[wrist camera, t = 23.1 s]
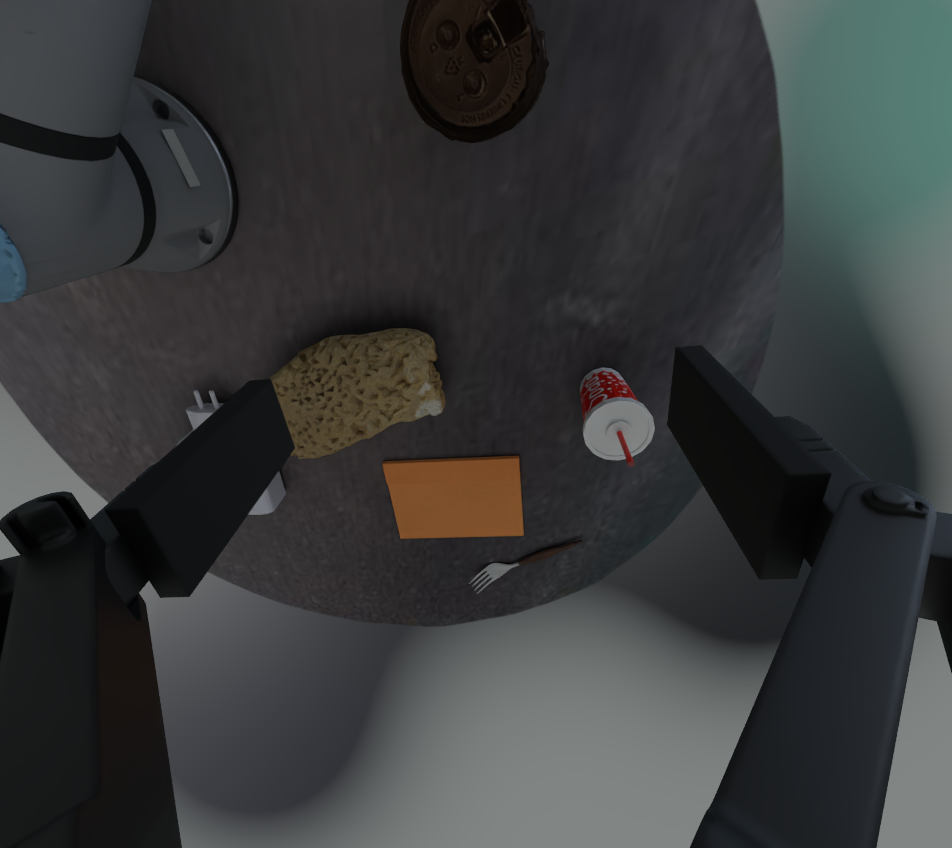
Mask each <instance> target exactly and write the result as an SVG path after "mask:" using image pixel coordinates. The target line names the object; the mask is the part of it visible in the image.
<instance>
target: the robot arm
mask: <svg viewBox="0 0 952 848" xmlns="http://www.w3.org/2000/svg"><path fill="white" fill-rule="evenodd" d="M151 2H152V0H0V303H2V302H12V301H14V300H17V299H19V298H20V297H23V296H26V295H30V294H33V293H36V292H39V291H43V290H46V289H49V288H52V287H56V286H59V285H62V284H66V283H69V282H72V281H75V280H79V279H82V278H85V277H88V276H92V275H95V274H98V273H101V272H105V271H108V270H111V269H114V268H118V267H125V268H132V269H138V270H145V271H151V272H159V273H173V272H182V271H187V270H191V269H194V268H197V267H200V266H202V265H205V264H207V263H209V262H211V261H212V260H214V259H215V258H216V257H218V256H219V255H220V254H221V253H222V252H223V250H224V249H225V248H226V246H227V245H228V243H229V242H230V240H231V238H232V235H233V233H234V230H235V226H236V222H237V215H238V195H237V188H236V182H235V178H234V175H233V171H232V168H231V166H230V163H229V160H228V158H227V156H226V154H225V152H224V150H223V148H222V146H221V144H220V142H219V141H218V139H217V137H216V136H215V134H214V133H213V131H212V130H211V129H210V127H209V126H208V125H207V123H206V122H205V121H204V120H203V119H202V117H201V116H200V115H199V114H198V113H197V112H196V111H195V110H194V109H193V108H192V107H191V106H189V105H188V104H187V103H186V102H185V101H184V100H182V99H181V98H180V97H178V96H177V95H176V94H174V93H172V92H171V91H169V90H168V89H166V88H164V87H162V86H160V85H158V84H156V83H153V82H151V81H148V80H145V79H142V78H138V77H134V74H135V69H136V65H137V61H138V57H139V53H140V48H141V44H142V40H143V36H144V32H145V27H146V23H147V19H148V15H149V11H150V6H151ZM667 425H668V427H669V429H670V430H671V432H672V434H673V435H674V437H675V439H676V440H677V442H678V444H679V445H680V447H681V449H682V450H683V452H684V454H685V456H686V457H687V459H688V461H689V462H690V464H691V466H692V467H693V469H694V471H695V472H696V474H697V476H698V477H699V479H700V481H701V482H702V484H703V486H704V487H705V489H706V491H707V492H708V494H709V496H710V497H711V499H712V501H713V503H714V504H715V506H716V508H717V509H718V511H719V513H720V514H721V516H722V518H723V519H724V521H725V523H726V525H727V526H728V528H729V530H730V531H731V533H732V534H733V536H734V538H735V540H736V541H737V543H738V545H739V546H740V548H741V550H742V551H743V553H744V555H745V556H746V558H747V560H748V561H749V563H750V565H751V566H752V568H753V570H754V571H755V573H756V575H757V577H758V578H759V579H794V578H797V577H798V574H799V571H800V568H801V565H802V562H803V559H804V558H805V559H806V561H807V562H808V563H809V565H810V566H811V567H812V569H811V571H810V574H809V576H808V578H807V581H806V583H805V585H804V588H803V590H802V592H801V595H800V597H799V600H798V602H797V604H796V607H795V609H794V611H793V614H792V616H791V618H790V621H789V623H788V626H787V628H786V630H785V633H784V635H783V637H782V640H781V642H780V644H779V647H778V649H777V651H776V654H775V656H774V658H773V661H772V663H771V665H770V668H769V670H768V673H767V675H766V677H765V680H764V682H763V685H762V687H761V689H760V692H759V694H758V696H757V698H756V701H755V704H754V706H753V708H752V710H751V713H750V715H749V717H748V720H747V722H746V724H745V727H744V729H743V732H742V734H741V736H740V738H739V741H738V743H737V746H736V748H735V750H734V753H733V755H732V758H731V760H730V762H729V764H728V767H727V769H726V772H725V774H724V776H723V779H722V781H721V783H720V786H719V788H718V790H717V793H716V795H715V797H714V799H713V802H712V804H711V806H710V807H709V809H708V810H707V811H706V813H705V815H704V817H703V819H702V821H701V823H700V826H699V828H698V830H697V832H696V835H695V837H694V839H693V842H692V844H691V846H690V848H876V847H877V841H878V836H879V830H880V825H881V819H882V813H883V808H884V803H885V797H886V792H887V786H888V781H889V775H890V770H891V764H892V759H893V753H894V748H895V742H896V737H897V732H898V726H899V721H900V715H901V710H902V704H903V699H904V693H905V688H906V683H907V677H908V672H909V666H910V661H911V655H912V650H913V644H914V638H915V633H916V628H917V622H918V617H919V618H924V619H928V620H934V621H937V623H938V627H939V630H940V634H941V637H942V641H943V644H944V648H945V651H946V654H947V658H948V662H949V665H950V669H951V672H952V514H948V513H941V512H935V508H934V507H933V506H932V505H931V504H930V503H929V502H928V501H927V500H926V499H925V498H923V497H921V496H920V495H918V494H916V493H914V492H913V491H911V490H908V489H906V488H903V487H900V486H897V485H894V484H889V483H884V482H879V481H870V480H869V479H868V478H867V477H866V476H865V475H864V474H862V473H861V472H860V471H859V470H858V469H857V468H856V467H855V466H854V465H853V464H851V463H850V462H849V461H848V460H847V459H846V458H845V457H844V456H842V455H841V454H840V453H839V452H838V451H835V450H834V447H833V446H831V445H830V444H829V443H828V442H827V441H826V440H824V441H823V437H821V436H820V435H819V434H818V433H817V432H816V431H815V430H814V429H813V428H811V427H810V426H809V425H807V424H805V423H802V422H800V421H798V420H796V419H794V418H792V417H790V416H784V417H774V416H773V415H772V414H771V413H770V412H769V411H768V410H767V409H766V408H765V407H764V406H762V405H761V403H759V401H758V400H757V399H756V398H755V397H754V396H752V395H751V394H750V393H749V392H748V391H747V390H746V389H745V388H744V387H743V386H742V385H741V384H740V383H739V382H738V381H737V380H736V379H735V378H734V377H733V376H732V375H731V374H730V373H729V372H728V371H727V370H726V369H725V368H724V367H723V366H722V365H721V364H720V363H719V362H718V361H717V360H716V359H715V358H714V357H713V356H712V355H711V354H710V353H709V352H708V351H707V350H706V349H705V348H704V347H703V346H702V345H700V346H687V347H676V349H675V358H674V367H673V376H672V385H671V394H670V403H669V412H668V421H667ZM294 449H295V446H294V443H293V440H292V437H291V434H290V431H289V429H288V426H287V423H286V420H285V417H284V414H283V411H282V409H281V406H280V403H279V400H278V397H277V394H276V392H275V389H274V386H273V383H272V380H271V379H265V380H253V381H249V382H248V383H246V384H245V385H244V386H243V387H242V388H241V389H240V390H239V391H237V392H236V393H235V394H234V395H233V396H232V397H231V398H230V399H229V400H227V401H226V402H225V403H224V404H223V405H222V406H221V407H220V408H218V409H217V410H216V411H215V412H214V413H213V414H212V415H211V416H209V417H208V418H207V419H206V420H205V421H204V422H203V423H202V424H200V425H199V426H198V427H197V428H196V429H195V430H194V431H193V432H192V433H190V434H189V435H188V436H187V437H186V438H185V439H184V440H183V441H181V442H180V443H179V444H178V445H177V446H176V447H175V448H174V449H172V450H171V451H170V452H169V453H168V454H167V455H166V456H165V457H163V458H162V459H161V460H160V461H159V462H158V463H156V464H154V465H152V466H151V467H149V468H148V469H147V470H146V471H145V472H143V473H142V474H141V475H140V476H139V477H138V478H137V479H136V481H133V482H132V483H131V484H130V485H129V486H128V487H127V488H125V491H122V492H121V493H120V494H119V495H117V496H116V497H115V498H114V499H113V500H112V501H111V502H110V503H108V504H107V505H106V506H105V507H104V508H103V509H102V510H101V511H99V512H98V513H97V514H96V515H95V516H94V517H93V518H91V519H89V518H88V516H87V515H86V514H85V512H84V510H83V509H82V507H81V506H80V504H79V503H78V502H77V500H76V498H75V497H74V496H73V494H72V493H69V492H56V493H51V494H47V495H44V496H41V497H38V498H35V499H33V500H31V501H28V502H26V503H24V504H22V505H20V506H19V507H17V508H15V509H14V510H12V511H11V512H9V513H8V514H7V515H6V516H5V517H3V518H2V519H1V520H0V530H1V531H2V533H4V535H5V536H6V538H7V539H8V540H9V541H10V543H11V544H12V545H13V546H14V547H15V549H16V550H17V551H18V552H19V554H20V555H19V556H15V557H11V558H7V559H3V560H0V848H182V846H181V839H180V832H179V825H178V819H177V812H176V805H175V799H174V791H173V785H172V778H171V772H170V764H169V758H168V751H167V744H166V738H165V731H164V724H163V717H162V710H161V703H160V697H159V690H158V683H157V676H156V670H155V663H154V657H153V650H152V643H151V636H150V629H149V622H148V617H147V616H148V615H147V609H146V604H145V602H144V600H143V598H142V597H141V596H140V594H139V592H140V591H141V589H142V588H143V587H144V586H145V585H146V583H147V582H148V581H150V582H151V584H152V586H153V587H154V589H155V590H156V592H157V593H158V595H159V596H160V598H163V597H190V595H191V594H192V592H193V591H194V589H195V588H196V587H197V585H198V584H199V582H200V581H201V580H202V578H203V577H204V576H205V574H206V573H207V571H208V570H209V569H210V567H211V566H212V564H213V563H214V562H215V560H216V559H217V557H218V556H219V555H220V553H221V552H222V550H223V549H224V547H225V546H226V545H227V543H228V542H229V540H230V539H231V538H232V536H233V535H234V533H235V532H236V531H237V529H238V528H239V526H240V525H241V524H242V522H243V521H244V519H245V518H246V517H247V515H248V514H249V512H250V511H251V510H252V508H253V507H254V505H255V504H256V502H257V501H258V500H259V498H260V497H261V495H262V494H263V493H264V491H265V490H266V488H267V487H268V486H269V484H270V483H271V481H272V480H273V479H274V477H275V476H276V474H277V473H278V472H279V470H280V469H281V467H282V466H283V465H284V463H285V462H286V460H287V459H288V457H289V456H290V455H291V453H292V452H293V450H294Z"/></svg>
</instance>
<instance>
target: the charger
mask: <svg viewBox="0 0 952 848" xmlns="http://www.w3.org/2000/svg"><path fill="white" fill-rule="evenodd" d="M209 394H210V397H211V400H212V402H213V403H205V404H203V402H202V399H201V396H200V394H199V391H198V390H195V391H194V395H195V398H196V400H197V403H198V405H194V406H190V407H187V408H185V409H186V412H187V414H188V417H189V419H190V422H191V425H192V427H193V430H191V431H190V432H189V433H188V434H187V435H186V436H184V437H183V438H182V439H181V440H180V441H179V442H178V444H179V443H180V442H181V441H183V440H184V439H185V438H186V437H187V436H188V435H189V434H190V433H192V432H193V431H194V430H195V429H196V428H197V427H198V426H199V425H200V424H202V423H203V422H204V421H205V420H206V419H207V418H208V417H209V416H211V415H212V414H213V413H214V412H215V411H216V410H217V409H218V408H220V407H221V406H222V405H223V404H224V403H218V401H217V398H216V396H215V393H214V391H213V390H210V391H209ZM178 444H177V445H178ZM177 445H176V446H177ZM176 446H175V447H176ZM285 494H286V492H285V489H284V485H283V482H282V479H281V475H280V472H278V473H277V474H276V476H275V477H274V479H273V480H272V481H271V483H270V484H269V486H268V487H267V488H266V490H265V491H264V493H263V494H262V495H261V497H260V498H259V500H258V501H257V502H256V504H255V505H254V507H253V508H252V510H251V511H250V512H249V514H248V515H262V514H268V513H271V512H273V511H274V510H275V509H276V508H277V506H278V505H279V503H280V502H281V500H282V499H283V497H284V496H285Z"/></svg>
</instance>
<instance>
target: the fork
mask: <svg viewBox="0 0 952 848" xmlns="http://www.w3.org/2000/svg"><path fill="white" fill-rule="evenodd" d="M581 542H583V540H579V541H575V542H571V543H568V544H564V545H561V546H557V547H554V548H550V549H546V550H543V551H540V552H537V553H535V554H533V555H531V556H529V557H527V558H525V559H523V560H521V561H519V562H517V563H514V564H511V565H507V564H502V563H492V564H490V565H488V566H487V567H486V568H484V569H483V570H482V571H481V572H480V573H479V574H478V575H477V576H476V577H474V578H473V579H472V580H471V581H470V582H469V584H470V583H471V582H472V581H473V580H474V579H476V578H477V577H478V576H479V575H481V574H482V573H483V572H485V571H487V572H486V573H485V574H484V575H483V576H482V577H481V578H480V579H479V580H478V581H476V582H475V583H474V584H473V586H474V585H475V584H476V583H478V582H479V581H480V580H481V579H482V578H484V577H485V576H486V575H488V574H489V576H488V577H487V578H486V579H485V580H484V581H483V582H482V583H481V584H479V585H478V586H477V587H476V588H475V590H476V589H477V588H478V587H479V586H481V585H482V584H483V583H484V582H486V581H487V580H488V579H490V578H492V579H491V580H490V581H489V582H488V583H487V584H486V585H484V586H483V587H482V588H481V589H480V590H479V591H478V592H477V594H478V593H479V592H480V591H481V590H482V589H484V588H485V587H486V586H487V585H489V584H490V583H491V582H492V581H494V580H495V579H497V578H499V577H500V576H502V575H503V574H504V573H506V572H507V571H508V570H509V569H511V568H513V567H515V566H519V565H523V564H527V563H532V562H536V561H539V560H543V559H546V558H548V557H550V556H553V555H555V554H557V553H559V552H561V551H564V550H566V549H568V548H570V547H573V546H575V545H577V544H579V543H581ZM473 586H472V587H473Z"/></svg>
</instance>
